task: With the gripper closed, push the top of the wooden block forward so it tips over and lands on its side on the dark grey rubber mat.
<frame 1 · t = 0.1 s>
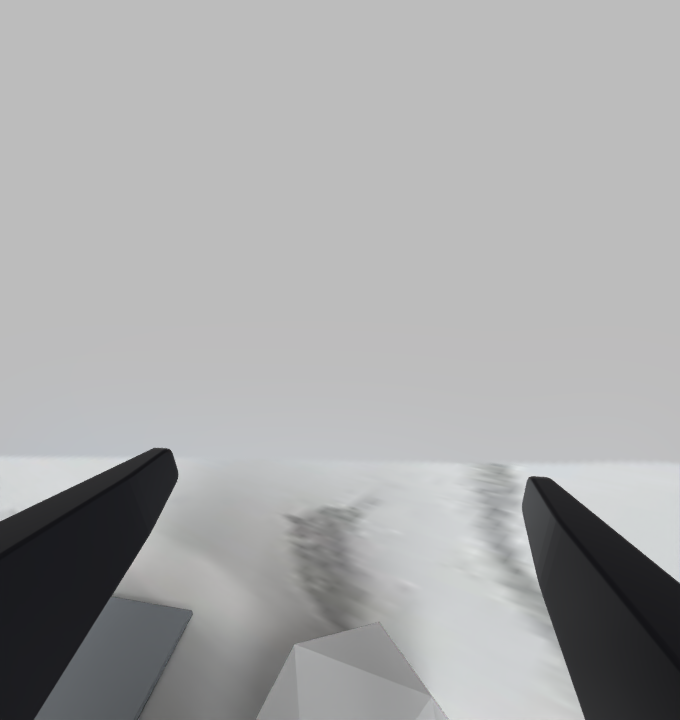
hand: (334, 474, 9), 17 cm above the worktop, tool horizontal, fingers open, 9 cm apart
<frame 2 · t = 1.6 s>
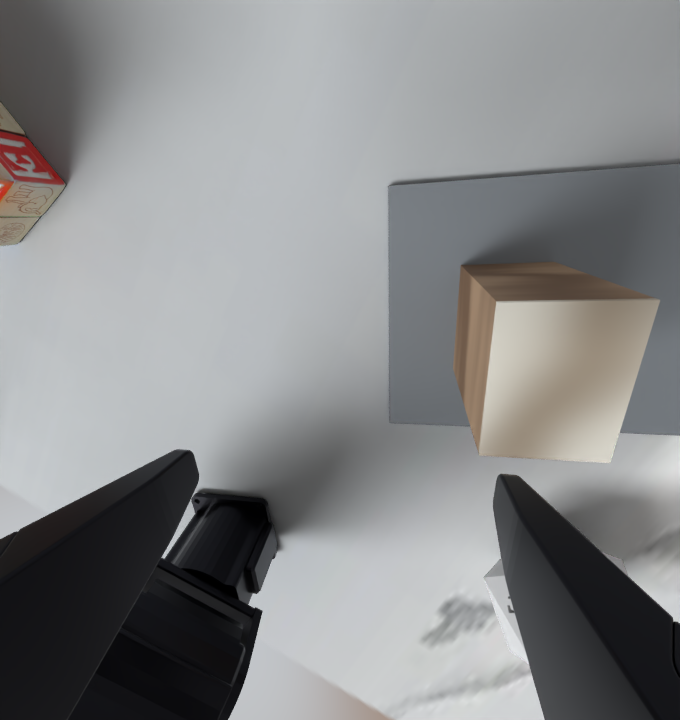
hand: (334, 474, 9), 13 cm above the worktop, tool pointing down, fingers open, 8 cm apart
rubber mat: (547, 317, 19), on the worktop
wooden block: (499, 319, 19), resting on rubber mat
die: (540, 551, 26), on the worktop
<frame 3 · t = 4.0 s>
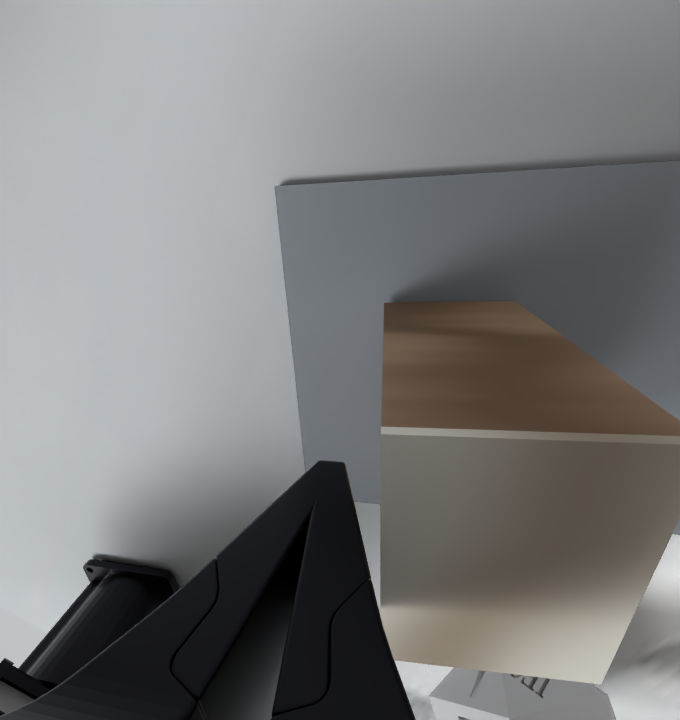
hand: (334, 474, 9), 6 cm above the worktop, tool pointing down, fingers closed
rubber mat: (507, 375, 13), on the worktop
wooden block: (442, 377, 13), resting on rubber mat, touching gripper
die: (506, 650, 20), on the worktop
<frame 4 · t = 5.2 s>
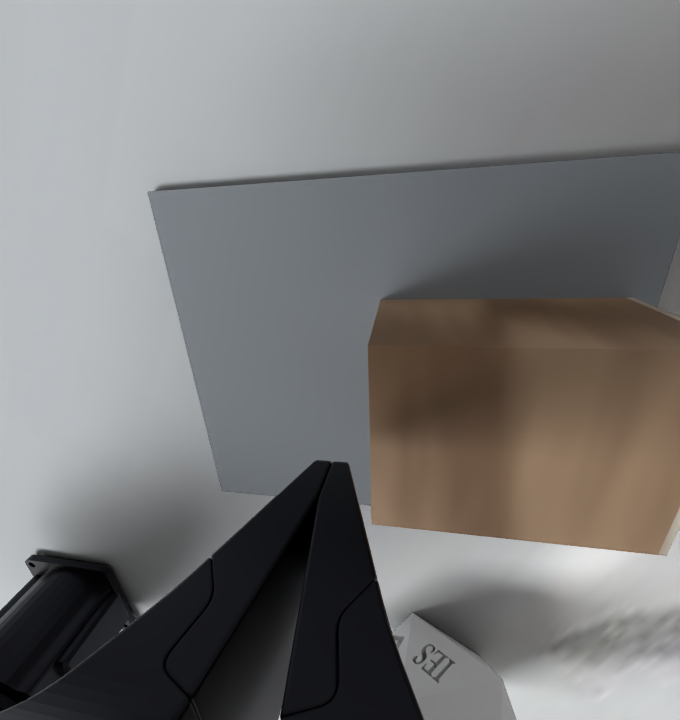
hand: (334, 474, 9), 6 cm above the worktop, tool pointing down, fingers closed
rubber mat: (387, 371, 14), on the worktop
wooden block: (376, 404, 12), point 3 cm above the worktop, tilted 90°, touching rubber mat
die: (429, 639, 21), on the worktop
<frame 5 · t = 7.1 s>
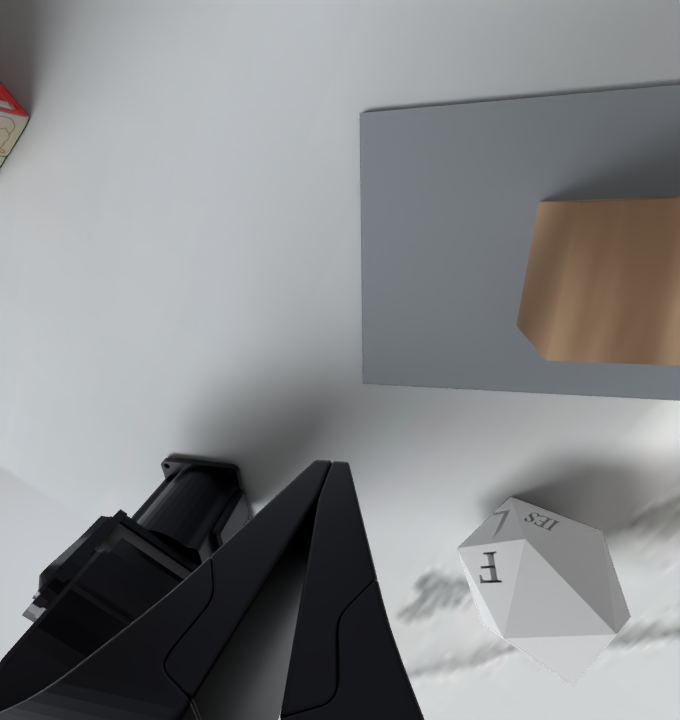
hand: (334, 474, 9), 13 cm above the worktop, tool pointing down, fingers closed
rubber mat: (530, 267, 17), on the worktop
wooden block: (542, 277, 15), point 3 cm above the worktop, tilted 90°, touching rubber mat
die: (519, 524, 25), on the worktop
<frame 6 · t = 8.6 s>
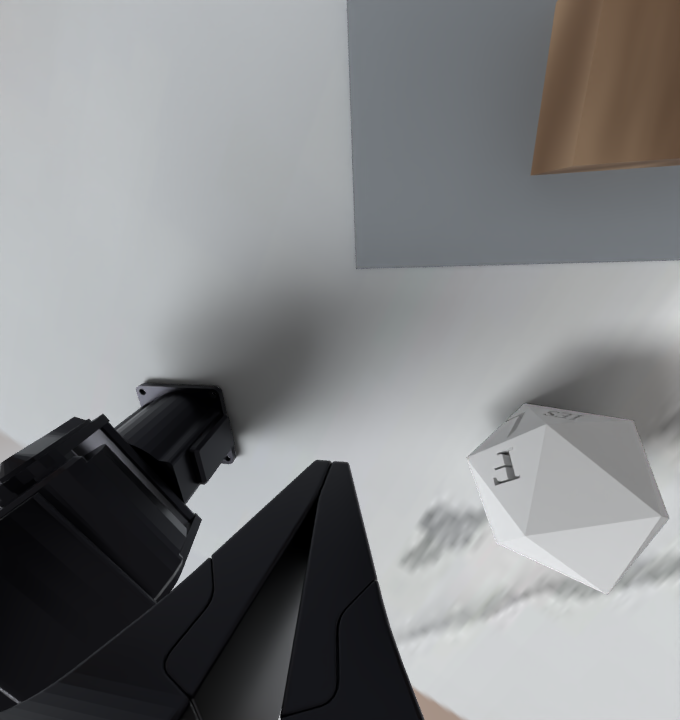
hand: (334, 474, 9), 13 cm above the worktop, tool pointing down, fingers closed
rubber mat: (546, 97, 15), on the worktop
wooden block: (563, 79, 13), point 3 cm above the worktop, tilted 90°, touching rubber mat
die: (535, 439, 22), on the worktop
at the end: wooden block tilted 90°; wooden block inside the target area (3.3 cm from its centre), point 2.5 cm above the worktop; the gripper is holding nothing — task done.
